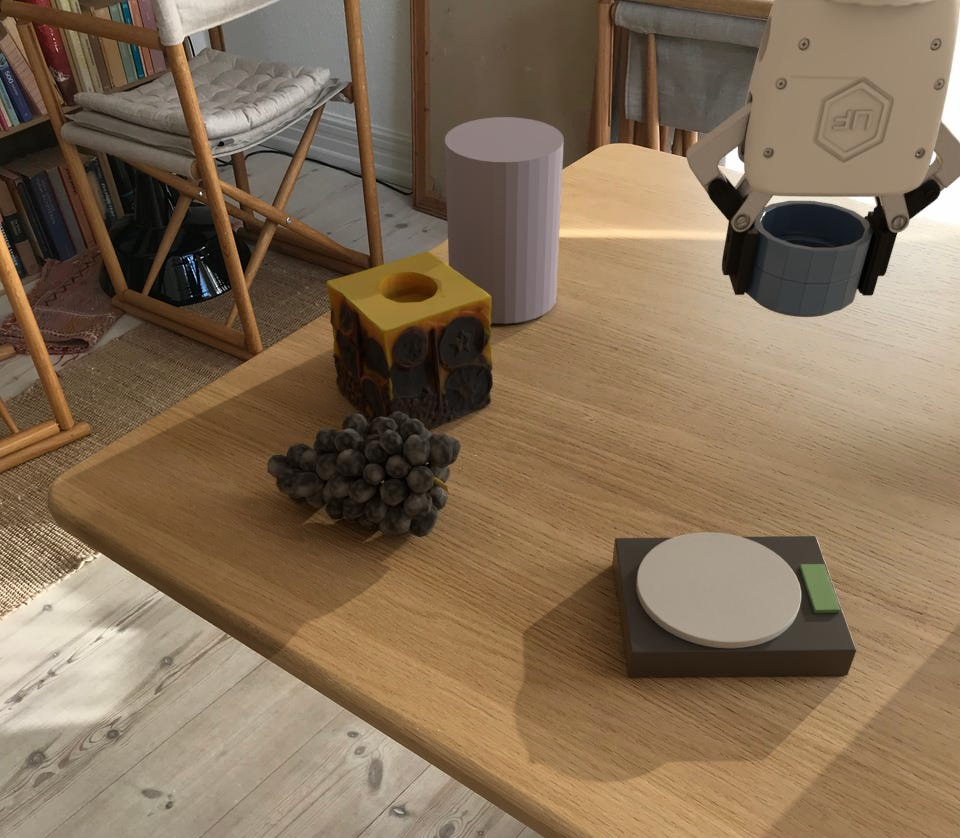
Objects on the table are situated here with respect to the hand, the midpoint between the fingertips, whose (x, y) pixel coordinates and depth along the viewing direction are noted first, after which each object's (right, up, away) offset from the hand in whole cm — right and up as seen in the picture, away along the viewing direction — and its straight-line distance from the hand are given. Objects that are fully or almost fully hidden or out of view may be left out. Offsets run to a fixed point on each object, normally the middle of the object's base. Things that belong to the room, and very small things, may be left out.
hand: (799, 283), depth 65 cm
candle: (-26, -2, +24) cm, 35 cm away
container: (-18, +10, +36) cm, 41 cm away
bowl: (0, -1, +1) cm, 1 cm away
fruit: (-29, -13, +14) cm, 34 cm away
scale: (-4, -21, +5) cm, 22 cm away
